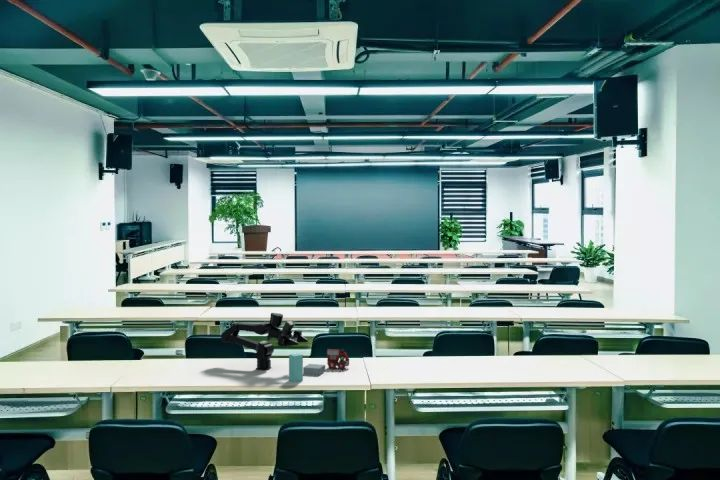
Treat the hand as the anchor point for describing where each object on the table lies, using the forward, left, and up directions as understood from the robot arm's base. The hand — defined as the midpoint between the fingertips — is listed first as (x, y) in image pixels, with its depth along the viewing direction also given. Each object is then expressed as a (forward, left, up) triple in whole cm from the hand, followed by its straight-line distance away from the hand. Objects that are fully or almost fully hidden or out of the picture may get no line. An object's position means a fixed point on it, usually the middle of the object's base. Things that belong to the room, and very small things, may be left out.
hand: (303, 342), depth 329 cm
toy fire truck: (+13, +18, -17) cm, 28 cm away
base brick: (+5, +3, -17) cm, 18 cm away
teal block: (+2, -15, -16) cm, 22 cm away
